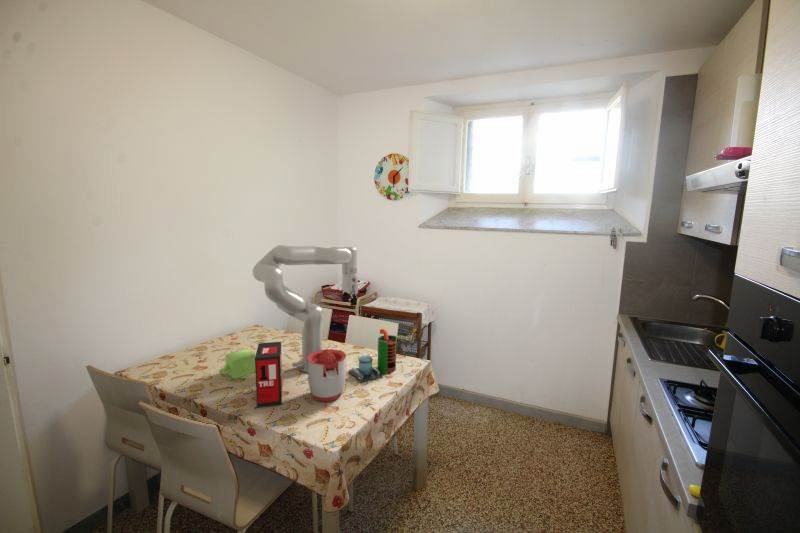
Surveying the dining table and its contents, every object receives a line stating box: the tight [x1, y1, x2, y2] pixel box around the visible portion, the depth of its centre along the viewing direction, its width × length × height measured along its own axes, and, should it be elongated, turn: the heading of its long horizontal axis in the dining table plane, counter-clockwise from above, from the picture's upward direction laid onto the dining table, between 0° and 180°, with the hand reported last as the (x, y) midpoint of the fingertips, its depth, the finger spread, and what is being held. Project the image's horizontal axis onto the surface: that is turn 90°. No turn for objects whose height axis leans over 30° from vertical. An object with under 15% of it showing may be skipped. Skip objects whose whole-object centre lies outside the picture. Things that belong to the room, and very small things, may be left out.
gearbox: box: [219, 348, 256, 380], centre depth 167 cm, size 18×10×10 cm, turn 136°
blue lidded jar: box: [358, 355, 373, 375], centre depth 168 cm, size 6×6×7 cm
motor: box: [376, 328, 398, 375], centre depth 173 cm, size 10×9×20 cm
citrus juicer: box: [307, 348, 347, 402], centre depth 147 cm, size 16×17×20 cm
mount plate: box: [348, 365, 384, 384], centre depth 168 cm, size 11×13×2 cm
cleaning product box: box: [254, 341, 283, 409], centre depth 146 cm, size 16×9×20 cm, turn 17°
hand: (349, 303), depth 187 cm, fingers open, 9 cm apart
